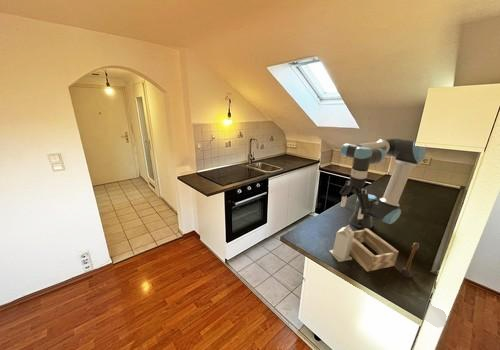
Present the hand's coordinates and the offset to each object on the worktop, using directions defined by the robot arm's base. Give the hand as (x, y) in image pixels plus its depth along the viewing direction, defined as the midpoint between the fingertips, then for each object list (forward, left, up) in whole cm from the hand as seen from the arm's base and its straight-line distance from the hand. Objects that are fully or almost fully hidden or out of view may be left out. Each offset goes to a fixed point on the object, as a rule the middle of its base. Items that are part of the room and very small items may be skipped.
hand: (350, 212), depth 115 cm
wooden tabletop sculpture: (-22, +23, -27) cm, 41 cm away
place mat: (+3, +3, -27) cm, 27 cm away
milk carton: (+3, +3, -27) cm, 27 cm away
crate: (-12, +6, -27) cm, 30 cm away
